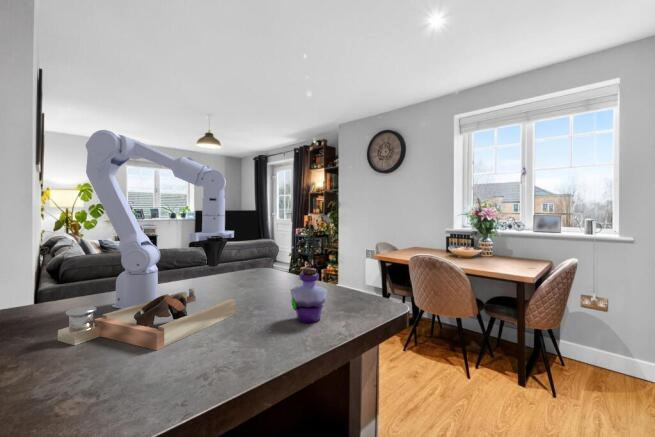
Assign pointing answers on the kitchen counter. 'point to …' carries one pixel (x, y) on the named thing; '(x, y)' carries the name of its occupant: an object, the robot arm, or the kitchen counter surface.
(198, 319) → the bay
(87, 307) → the winch drum
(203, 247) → the robot arm
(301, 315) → the potion bottle
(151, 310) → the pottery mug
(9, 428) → the kitchen counter surface
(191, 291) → the crank handle
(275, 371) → the kitchen counter surface
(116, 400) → the kitchen counter surface
